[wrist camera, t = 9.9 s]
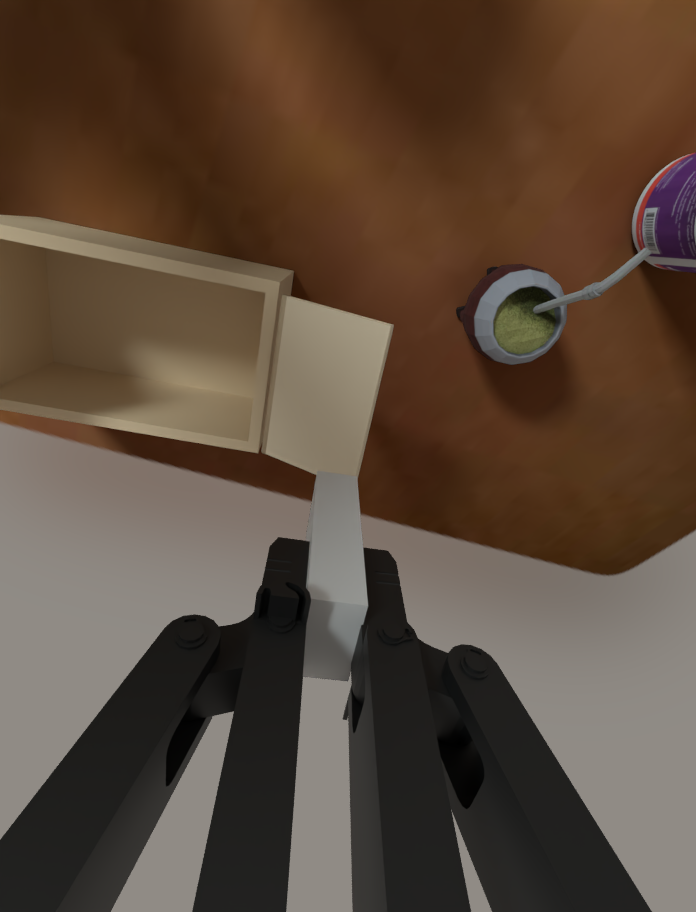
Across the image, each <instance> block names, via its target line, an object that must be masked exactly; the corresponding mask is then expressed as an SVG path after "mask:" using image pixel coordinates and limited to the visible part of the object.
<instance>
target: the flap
mask: <svg viewBox="0 0 696 912" xmlns="http://www.w3.org/2000/svg"><path fill="white" fill-rule="evenodd" d="M393 327H394V325H393V324H389V323H385V322H382V321H378V320H375V319H371V318H367V317H364V316H360V315H357V314H353V313H350V312H346V311H342V310H339V309H335V308H332V307H328V306H324V305H321V304H317V303H314V302H310V301H306V300H303V299H299V298H296V297H292V296H289V295H282V298H281V306H280V313H279V321H278V328H277V336H276V344H275V351H274V359H273V367H272V374H271V382H270V389H269V397H268V405H267V412H266V420H265V427H264V435H263V443H262V450H261V452H262V453H264V454H267V455H269V456H272V457H274V458H277V459H279V460H281V461H284V462H286V463H289V464H291V465H294V466H296V467H298V468H301V469H303V470H306V471H308V472H310V473H313V474H315V475H317V471H324V472H331V473H337V474H344V475H351V476H357V480H358V476H359V471H360V467H361V463H362V459H363V454H364V450H365V446H366V442H367V437H368V433H369V429H370V425H371V421H372V416H373V412H374V408H375V404H376V399H377V395H378V391H379V387H380V382H381V378H382V374H383V370H384V365H385V361H386V357H387V353H388V349H389V344H390V340H391V336H392V332H393Z"/></svg>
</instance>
